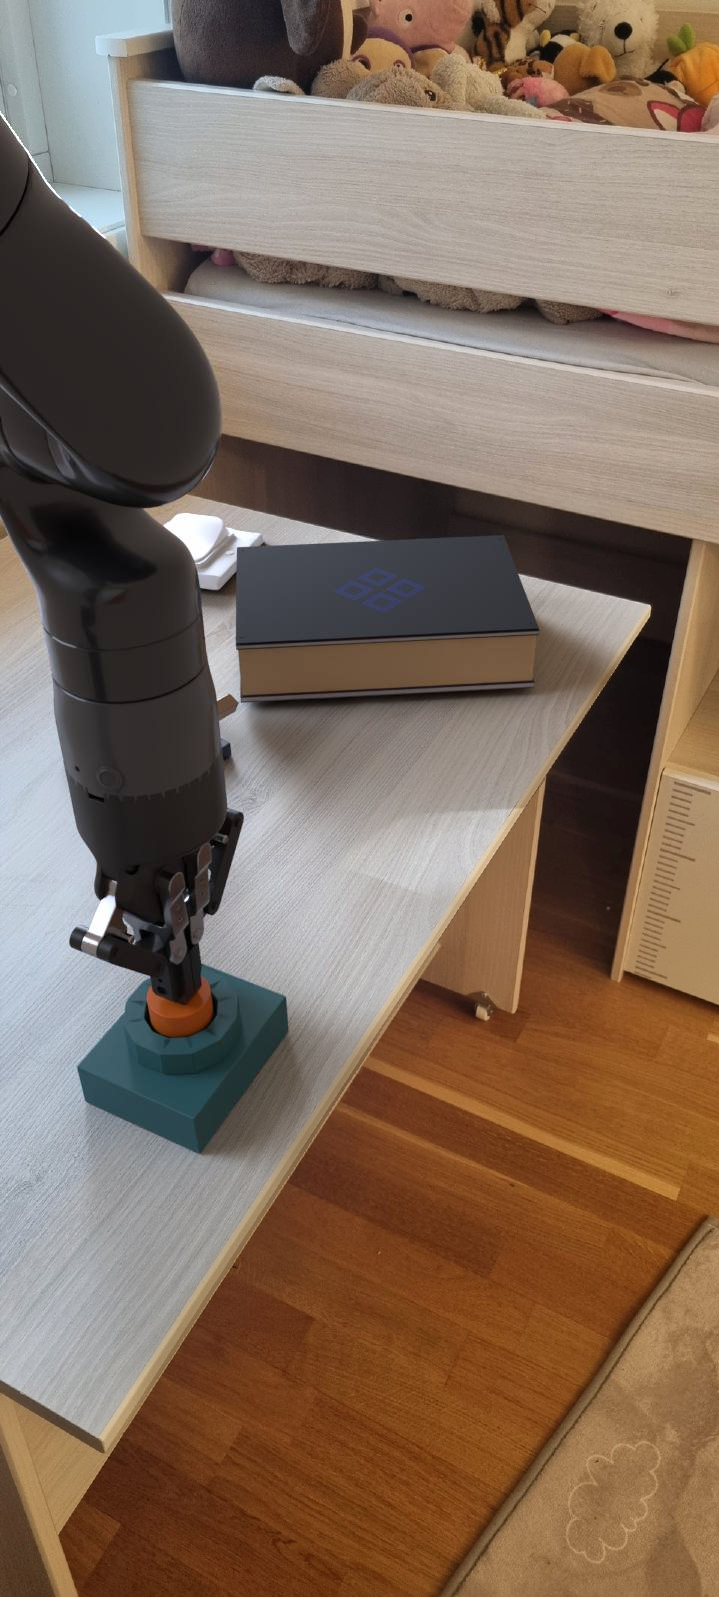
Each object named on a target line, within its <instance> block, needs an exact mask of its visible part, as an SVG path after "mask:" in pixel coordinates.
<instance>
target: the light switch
mask: <svg viewBox="0 0 719 1597" xmlns="http://www.w3.org/2000/svg"><path fill="white" fill-rule="evenodd" d="M163 526H164V527H166V528H167V529H168V530H170V531H171V532H172V533H173V534H175V535H176V536H177V537H178V538H180V539H181V540H182V541H183V542H184V543H185V544H186V546H187V547H188V549H189V550H190V552H191V554H192V556H193V559H194V561H195V564H196V568H197V572H198V577H199V583H200V589H206V590H212V591H218V590H220V589H221V588H222V587H223V586H224V585H225V584H226V583H227V582H228V581H229V580H230V579H231V578H232V577H233V575H234V574H235V573H237V547H252V546H262V544H263V543H264V542H265V538H264V535H263V534H261V533H259V532H253V531H244V530H236V529H234V528H231V527H227V526H226V523H225V521H224V520H223V519H221V518H219V517H217V516H212V515H211V516H210V515H202V514H194V513H189V512H184V513H178V514H176V515H175V516H174V517H172V518H171V519H170V521H168V522H166V523H165V524H163Z"/></svg>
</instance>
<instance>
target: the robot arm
mask: <svg viewBox="0 0 719 1597" xmlns="http://www.w3.org/2000/svg"><path fill="white" fill-rule="evenodd" d="M222 432H223V407H222V399H221V393H220V389H219V384H218V381H217V377H216V374H215V371H214V369H213V367H212V364H211V361H210V359H209V357H208V355H207V353H206V351H205V349H204V348H203V346H202V344H201V342H200V341H199V339H198V337H197V336H196V334H195V333H194V331H193V330H192V328H191V327H190V326H189V325H188V323H187V322H186V320H185V319H184V318H183V317H182V316H181V314H180V313H179V312H178V311H177V309H176V308H174V307H173V305H172V304H171V303H170V302H169V301H168V300H167V299H166V297H164V295H163V294H162V293H161V292H160V291H158V289H156V287H155V286H154V285H153V284H152V282H150V281H149V279H147V278H146V277H145V276H143V274H141V272H139V270H138V269H137V268H136V267H135V266H134V265H132V263H131V262H130V261H129V260H128V259H127V258H126V257H125V256H124V255H123V254H122V253H121V252H120V251H119V250H118V249H117V248H116V247H115V246H114V245H113V244H112V243H111V242H110V241H109V240H108V239H107V238H106V237H105V236H104V235H103V234H101V233H100V232H99V231H98V230H97V229H96V228H95V227H94V226H92V225H91V224H90V223H89V222H88V221H87V220H86V219H84V218H83V217H82V216H81V215H80V214H79V213H77V212H76V211H75V209H73V208H72V207H71V206H70V205H68V203H67V202H65V200H64V199H62V198H61V197H60V195H58V194H57V193H56V191H55V190H54V189H53V188H52V187H51V185H50V184H49V183H48V182H47V180H46V179H45V177H44V176H43V173H42V172H41V171H40V169H39V167H38V166H37V163H35V161H34V158H32V156H31V155H30V153H29V151H28V149H27V148H26V147H25V146H24V145H23V143H22V142H21V140H20V139H19V136H17V134H16V133H15V131H14V130H13V129H12V127H11V126H10V124H9V123H8V121H7V120H6V118H5V117H4V115H3V114H2V113H1V112H0V520H1V523H2V525H3V527H4V529H5V531H6V533H7V536H8V538H9V540H10V542H11V544H12V547H13V549H14V551H15V553H16V554H17V556H18V558H19V560H20V562H21V564H22V566H23V567H24V569H25V572H26V573H27V575H28V577H29V579H30V581H31V584H32V586H33V587H34V590H35V594H36V597H37V602H38V610H39V615H40V621H41V626H42V632H43V637H44V641H45V648H46V651H47V652H46V653H47V657H48V663H49V667H50V671H51V677H52V678H51V679H52V688H53V692H52V693H53V714H54V722H55V727H56V732H57V736H58V741H59V745H60V751H61V755H62V761H63V766H64V767H63V768H64V772H65V777H66V781H67V786H68V789H69V790H68V791H69V797H70V801H71V806H72V811H73V816H74V821H75V826H76V829H77V833H78V834H79V837H80V838H81V840H82V841H83V843H84V844H85V845H86V847H87V848H88V850H89V852H90V853H91V854H92V856H93V858H94V859H95V863H96V869H95V877H94V882H93V884H94V885H93V891H94V894H95V897H96V898H97V899H98V901H100V902H99V904H98V906H97V908H96V911H95V914H94V916H93V919H92V921H91V924H90V925H89V927H88V926H85V925H83V924H78V925H77V926H76V927H75V928H73V929H72V931H71V934H70V936H69V940H68V943H69V947H70V948H71V949H74V950H76V951H79V952H81V953H84V954H86V955H88V956H91V957H93V958H96V959H98V960H101V961H103V962H106V963H107V964H110V965H114V966H117V967H119V968H123V969H126V970H128V971H133V972H135V973H139V974H142V975H144V976H148V977H149V978H151V983H152V984H151V985H152V991H153V992H154V993H155V995H157V996H160V997H162V998H165V999H167V1000H170V1001H172V1002H174V1003H180V1004H183V1005H186V1004H187V1003H188V1002H189V1001H190V1000H191V998H192V997H193V996H194V995H195V994H196V992H197V991H198V990H199V989H200V988H201V986H202V981H201V969H202V964H203V963H202V957H201V956H202V955H201V949H200V941H202V938H203V936H204V934H205V933H204V932H205V921H204V919H205V917H206V916H207V915H209V916H215V915H216V914H217V912H219V908H220V906H221V903H222V899H223V896H224V892H225V888H226V885H227V881H228V878H229V875H230V871H231V868H232V863H233V861H234V857H235V854H236V850H237V846H238V843H239V839H240V835H241V832H242V829H243V825H244V821H245V815H244V813H243V812H242V811H238V810H236V809H232V808H230V807H228V796H227V785H226V776H225V775H226V774H225V765H224V761H223V754H222V744H221V738H222V736H221V727H220V721H219V715H218V704H217V700H218V696H217V691H216V687H215V682H214V679H213V676H212V672H211V668H210V664H209V658H208V657H209V656H208V653H207V643H206V633H205V632H206V631H205V623H204V612H203V603H202V602H203V601H202V591H201V588H200V583H199V577H198V572H197V568H196V564H195V561H194V559H193V556H192V554H191V552H190V550H189V549H188V547H187V546H186V544H185V543H184V542H183V541H182V540H181V539H180V538H178V537H177V536H176V535H175V534H173V533H172V532H171V531H170V530H168V529H167V528H166V527H164V524H162V523H161V522H159V521H158V520H157V519H156V518H154V517H153V516H152V515H151V514H150V513H149V512H148V511H146V509H153V508H159V507H163V506H167V505H170V504H172V503H175V502H177V501H178V500H180V499H182V498H184V497H185V496H186V495H188V494H189V493H191V492H192V491H193V490H194V489H195V488H197V487H198V486H199V485H200V483H201V482H202V481H203V480H204V479H205V477H206V476H207V475H208V473H209V471H210V470H211V468H212V466H213V463H214V462H215V459H216V456H217V454H218V451H219V447H220V444H221V438H222ZM209 872H210V876H209ZM125 922H126V923H125ZM126 924H128V925H129V926H130V927H131V928H132V932H133V934H131V933H129V932H128V926H127V925H126ZM201 963H202V964H201Z"/></svg>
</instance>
